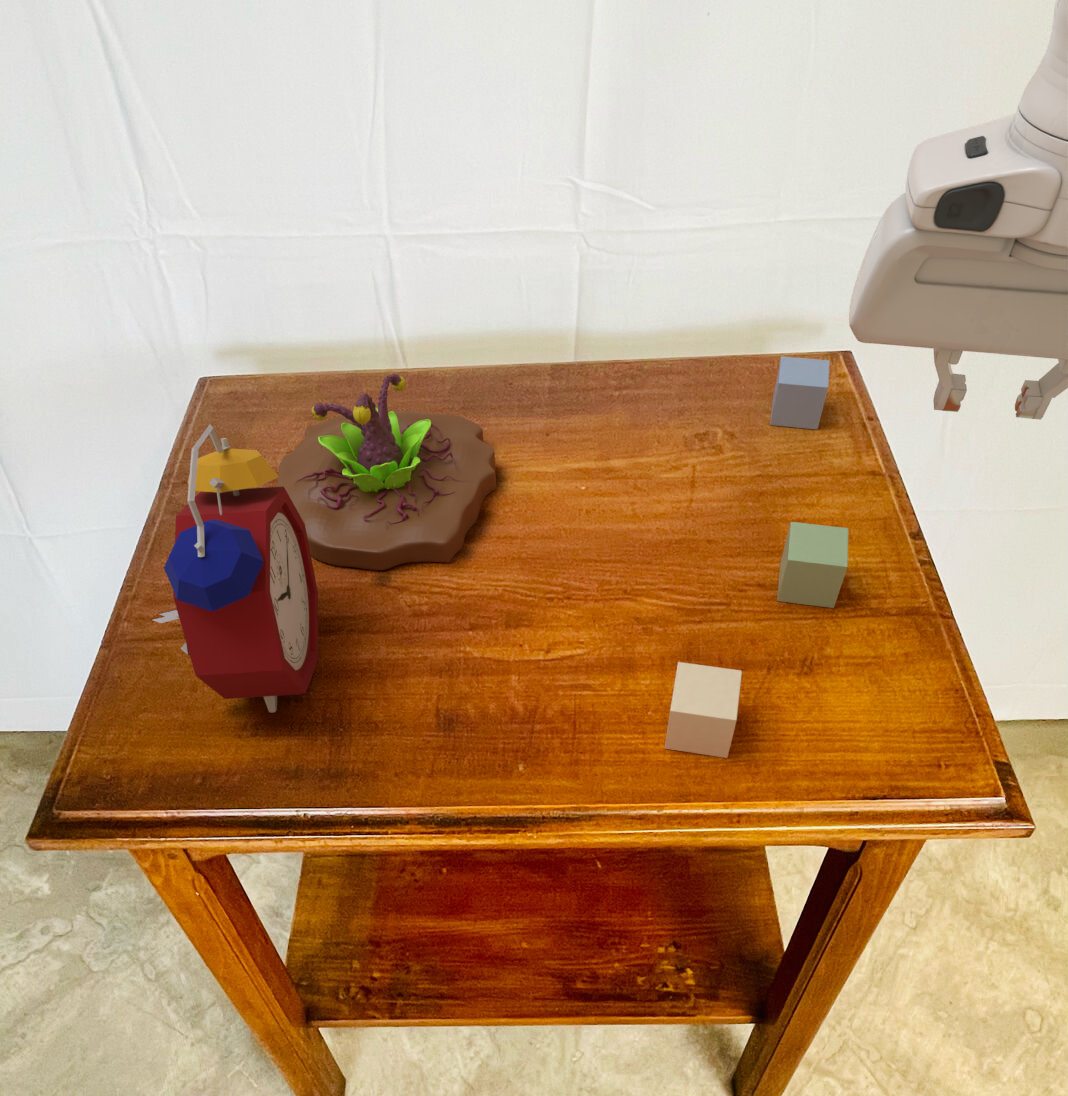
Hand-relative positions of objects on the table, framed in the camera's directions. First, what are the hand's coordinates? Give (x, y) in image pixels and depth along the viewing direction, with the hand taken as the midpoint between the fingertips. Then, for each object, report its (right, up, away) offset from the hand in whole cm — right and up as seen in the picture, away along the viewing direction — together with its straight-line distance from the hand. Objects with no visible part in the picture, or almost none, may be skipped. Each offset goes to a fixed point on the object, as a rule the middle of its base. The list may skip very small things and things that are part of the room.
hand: (985, 409), depth 59 cm
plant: (-43, +1, +24) cm, 49 cm away
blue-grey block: (-4, +10, +29) cm, 31 cm away
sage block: (-7, -9, +15) cm, 19 cm away
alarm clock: (-51, -16, +12) cm, 54 cm away
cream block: (-18, -21, +7) cm, 28 cm away
